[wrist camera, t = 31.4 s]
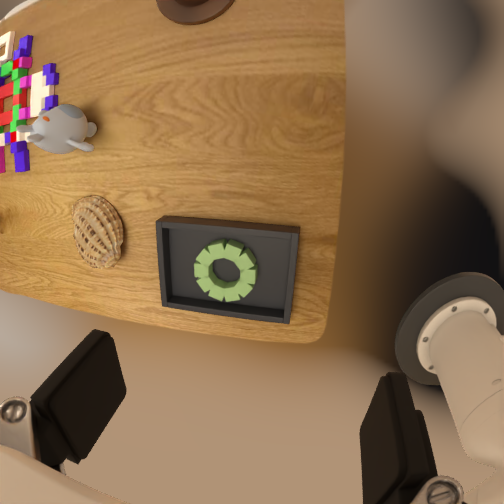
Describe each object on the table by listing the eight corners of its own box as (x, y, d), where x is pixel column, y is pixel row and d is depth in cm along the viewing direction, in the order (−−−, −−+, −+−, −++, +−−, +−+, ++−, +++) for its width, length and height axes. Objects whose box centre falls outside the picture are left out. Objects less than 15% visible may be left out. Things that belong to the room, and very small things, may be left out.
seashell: (90, 230, 45) (120, 276, 42) (57, 231, 40) (84, 282, 37) (107, 188, 42) (141, 233, 39) (72, 186, 37) (102, 235, 34)
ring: (259, 241, 38) (256, 246, 36) (256, 298, 41) (253, 305, 39) (198, 235, 39) (193, 240, 37) (199, 291, 42) (195, 297, 40)
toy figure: (123, 125, 36) (60, 130, 25) (103, 166, 38) (40, 184, 27) (72, 90, 35) (8, 89, 24) (55, 129, 37) (-8, 138, 26)
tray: (299, 226, 37) (299, 233, 35) (290, 313, 41) (289, 324, 39) (164, 215, 39) (155, 220, 37) (169, 297, 44) (161, 306, 41)
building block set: (58, 167, 39) (38, 173, 35) (-13, 174, 42) (-31, 180, 38) (66, 7, 30) (47, 1, 26) (-10, 45, 33) (-27, 44, 29)
